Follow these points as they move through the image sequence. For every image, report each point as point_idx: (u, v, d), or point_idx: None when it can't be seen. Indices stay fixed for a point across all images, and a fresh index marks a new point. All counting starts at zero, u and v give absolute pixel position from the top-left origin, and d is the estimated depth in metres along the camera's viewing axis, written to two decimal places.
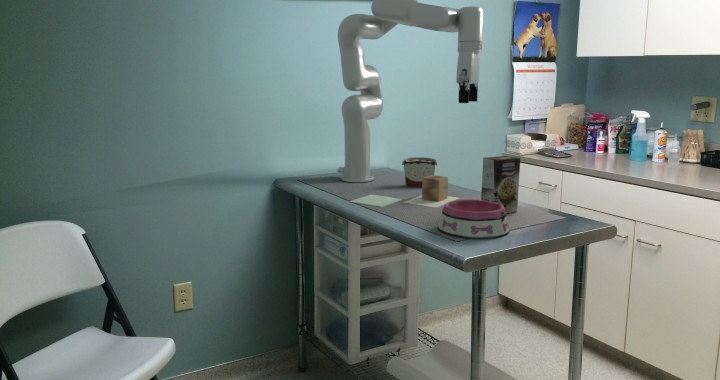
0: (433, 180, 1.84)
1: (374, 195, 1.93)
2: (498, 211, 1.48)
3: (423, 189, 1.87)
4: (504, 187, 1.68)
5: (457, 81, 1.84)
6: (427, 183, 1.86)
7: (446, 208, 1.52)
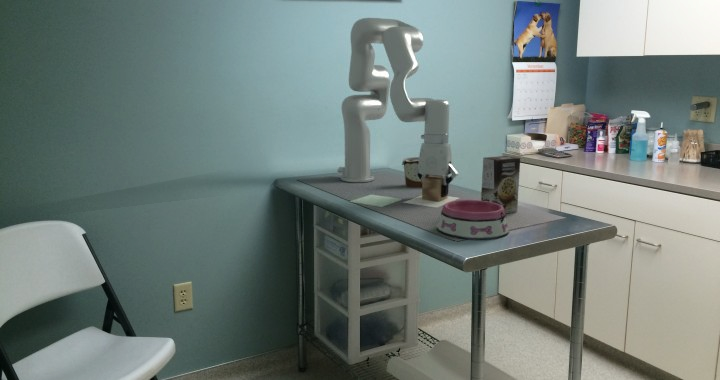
0: (433, 180, 1.84)
1: (374, 195, 1.93)
2: (497, 212, 1.47)
3: (423, 189, 1.87)
4: (504, 187, 1.68)
5: (446, 174, 1.82)
6: (427, 183, 1.86)
7: (445, 209, 1.51)
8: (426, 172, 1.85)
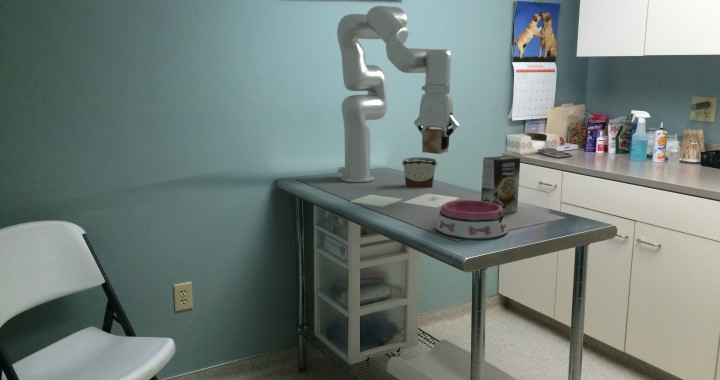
0: (434, 132, 1.81)
1: (374, 195, 1.93)
2: (496, 212, 1.47)
3: (423, 141, 1.84)
4: (504, 187, 1.68)
5: (446, 125, 1.79)
6: (428, 134, 1.83)
7: (444, 209, 1.51)
8: (427, 124, 1.82)
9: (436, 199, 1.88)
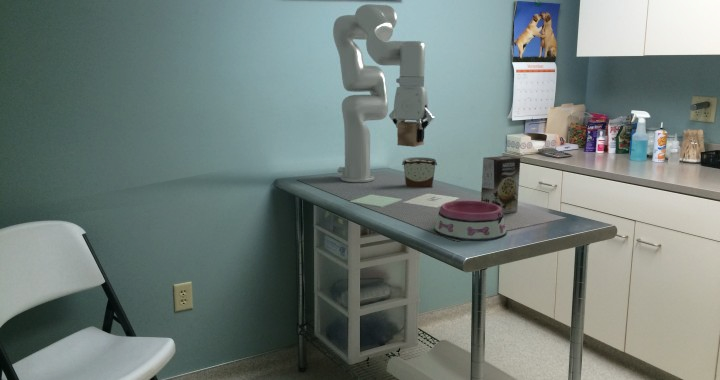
0: (409, 124, 1.80)
1: (374, 195, 1.93)
2: (495, 212, 1.46)
3: (398, 134, 1.82)
4: (504, 187, 1.68)
5: (421, 118, 1.78)
6: (403, 127, 1.81)
7: (442, 209, 1.50)
8: (402, 117, 1.81)
9: (436, 199, 1.88)
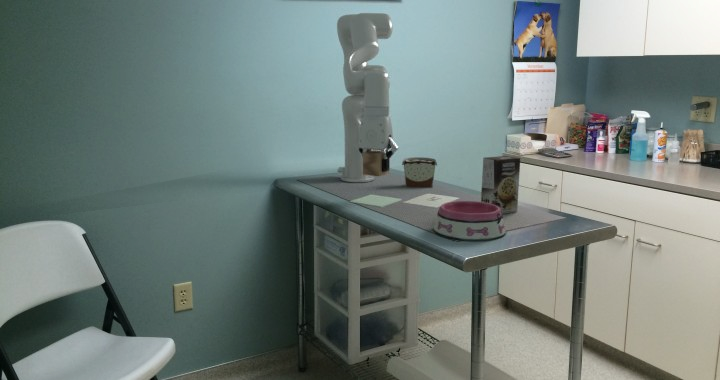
0: (373, 154, 1.80)
1: (374, 195, 1.93)
2: (494, 213, 1.46)
3: (364, 164, 1.82)
4: (504, 187, 1.68)
5: (385, 148, 1.78)
6: (368, 157, 1.81)
7: (441, 210, 1.50)
8: (367, 146, 1.81)
9: (436, 199, 1.88)
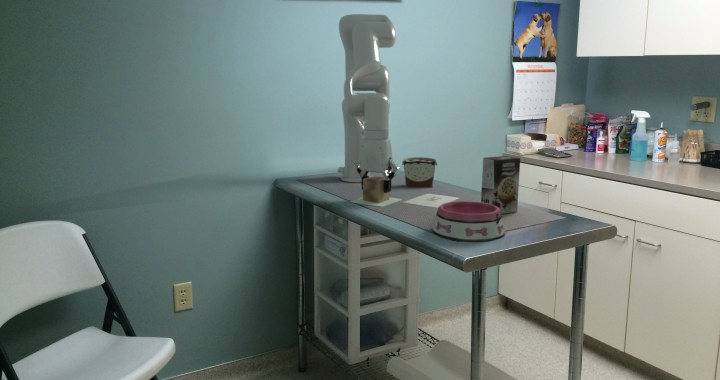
0: (373, 181, 1.82)
1: None
2: (493, 213, 1.46)
3: (364, 190, 1.85)
4: (504, 187, 1.68)
5: (385, 170, 1.79)
6: (368, 184, 1.83)
7: (440, 210, 1.50)
8: (367, 169, 1.83)
9: (436, 199, 1.88)
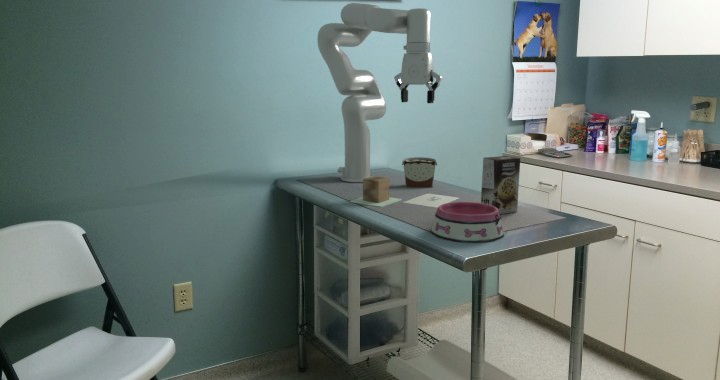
0: (373, 181, 1.82)
1: None
2: (492, 214, 1.45)
3: (364, 190, 1.85)
4: (504, 187, 1.68)
5: (427, 82, 1.86)
6: (368, 184, 1.83)
7: (439, 211, 1.49)
8: (409, 82, 1.89)
9: (436, 199, 1.88)
